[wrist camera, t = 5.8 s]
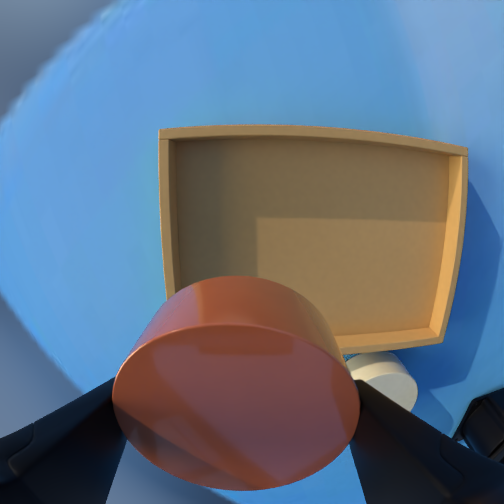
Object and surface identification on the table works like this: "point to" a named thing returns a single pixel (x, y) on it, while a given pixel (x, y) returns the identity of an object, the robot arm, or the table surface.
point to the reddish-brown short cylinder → (237, 387)
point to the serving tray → (321, 222)
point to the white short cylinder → (385, 376)
